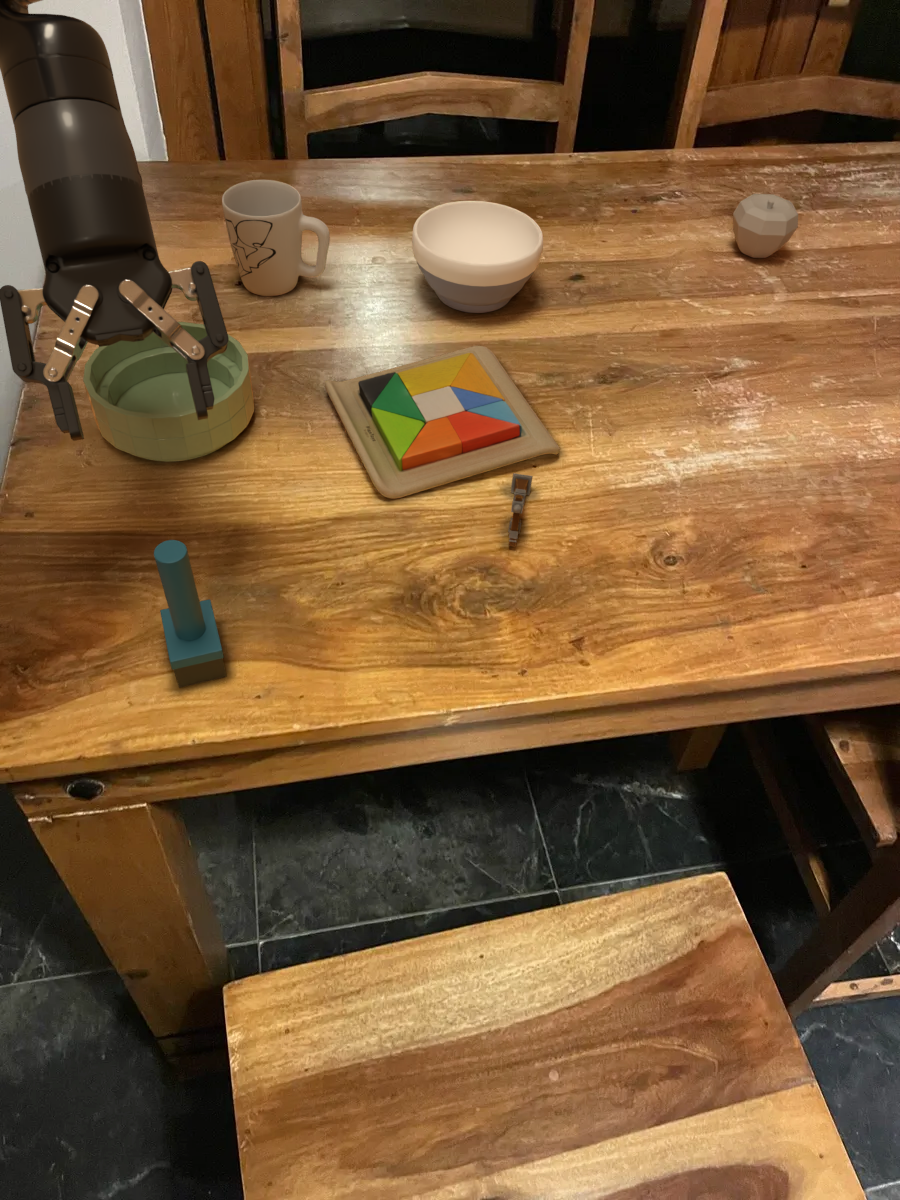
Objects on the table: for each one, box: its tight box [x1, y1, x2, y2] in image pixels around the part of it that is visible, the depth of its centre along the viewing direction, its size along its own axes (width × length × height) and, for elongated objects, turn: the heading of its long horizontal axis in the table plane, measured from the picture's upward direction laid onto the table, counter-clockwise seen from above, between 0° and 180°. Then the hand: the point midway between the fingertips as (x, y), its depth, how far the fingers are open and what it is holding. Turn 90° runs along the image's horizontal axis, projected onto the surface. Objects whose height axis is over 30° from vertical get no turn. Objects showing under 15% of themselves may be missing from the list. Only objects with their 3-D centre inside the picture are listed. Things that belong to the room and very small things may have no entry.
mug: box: [221, 179, 331, 297], centre depth 104 cm, size 11×8×10 cm
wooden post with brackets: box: [507, 473, 533, 547], centre depth 83 cm, size 2×8×4 cm, turn 171°
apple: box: [732, 193, 799, 259], centre depth 115 cm, size 8×8×7 cm
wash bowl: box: [82, 321, 255, 462], centre depth 89 cm, size 15×15×6 cm
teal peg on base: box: [153, 539, 228, 689], centre depth 68 cm, size 5×4×12 cm
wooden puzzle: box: [324, 345, 561, 499], centre depth 91 cm, size 18×19×4 cm
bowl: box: [411, 200, 544, 314], centre depth 105 cm, size 14×14×8 cm
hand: (141, 428), depth 65 cm, fingers open, 8 cm apart
